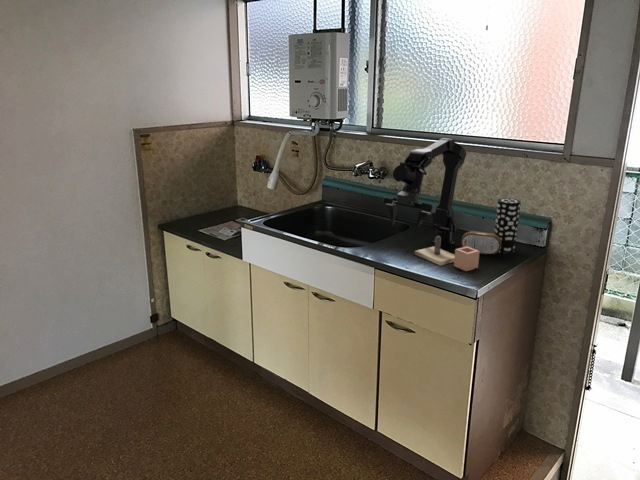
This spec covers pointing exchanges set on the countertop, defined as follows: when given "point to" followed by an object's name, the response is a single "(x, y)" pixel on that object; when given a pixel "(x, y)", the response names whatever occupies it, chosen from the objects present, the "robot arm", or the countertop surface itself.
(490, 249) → the tin
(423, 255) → the post stand
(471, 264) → the collar
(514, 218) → the spotted tube
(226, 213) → the countertop surface
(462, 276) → the countertop surface
